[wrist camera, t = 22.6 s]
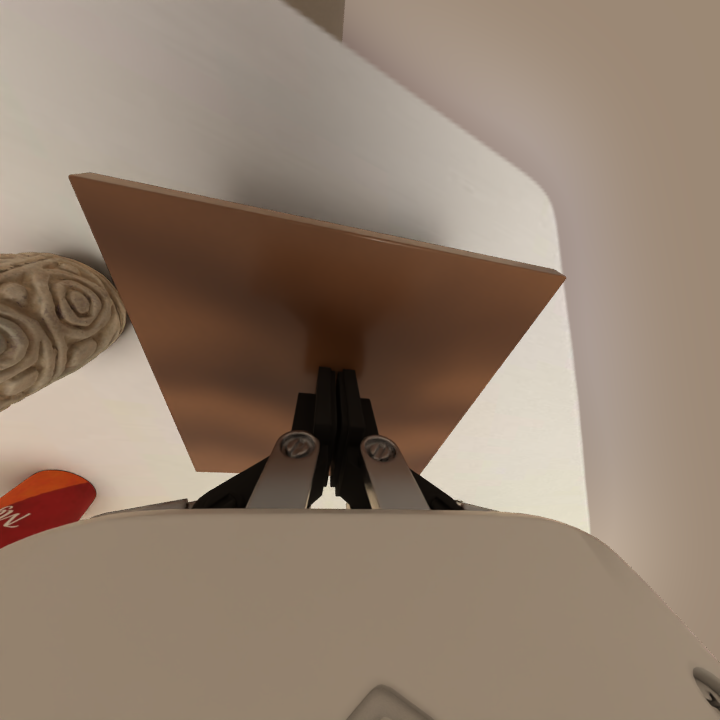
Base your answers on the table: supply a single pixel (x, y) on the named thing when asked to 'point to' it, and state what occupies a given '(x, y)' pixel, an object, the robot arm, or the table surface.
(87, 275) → the carving
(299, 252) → the chest lid
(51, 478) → the paper cup
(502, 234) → the table surface
